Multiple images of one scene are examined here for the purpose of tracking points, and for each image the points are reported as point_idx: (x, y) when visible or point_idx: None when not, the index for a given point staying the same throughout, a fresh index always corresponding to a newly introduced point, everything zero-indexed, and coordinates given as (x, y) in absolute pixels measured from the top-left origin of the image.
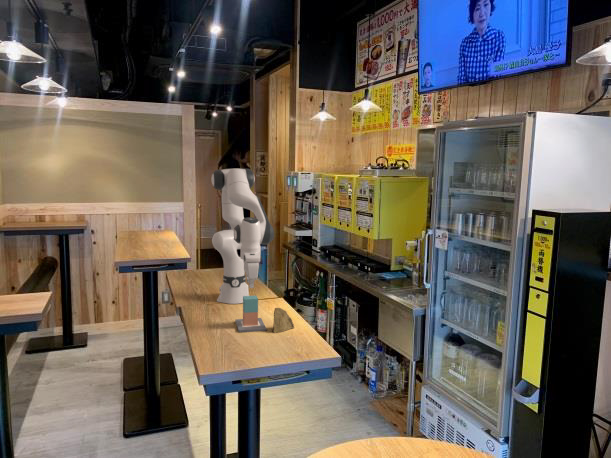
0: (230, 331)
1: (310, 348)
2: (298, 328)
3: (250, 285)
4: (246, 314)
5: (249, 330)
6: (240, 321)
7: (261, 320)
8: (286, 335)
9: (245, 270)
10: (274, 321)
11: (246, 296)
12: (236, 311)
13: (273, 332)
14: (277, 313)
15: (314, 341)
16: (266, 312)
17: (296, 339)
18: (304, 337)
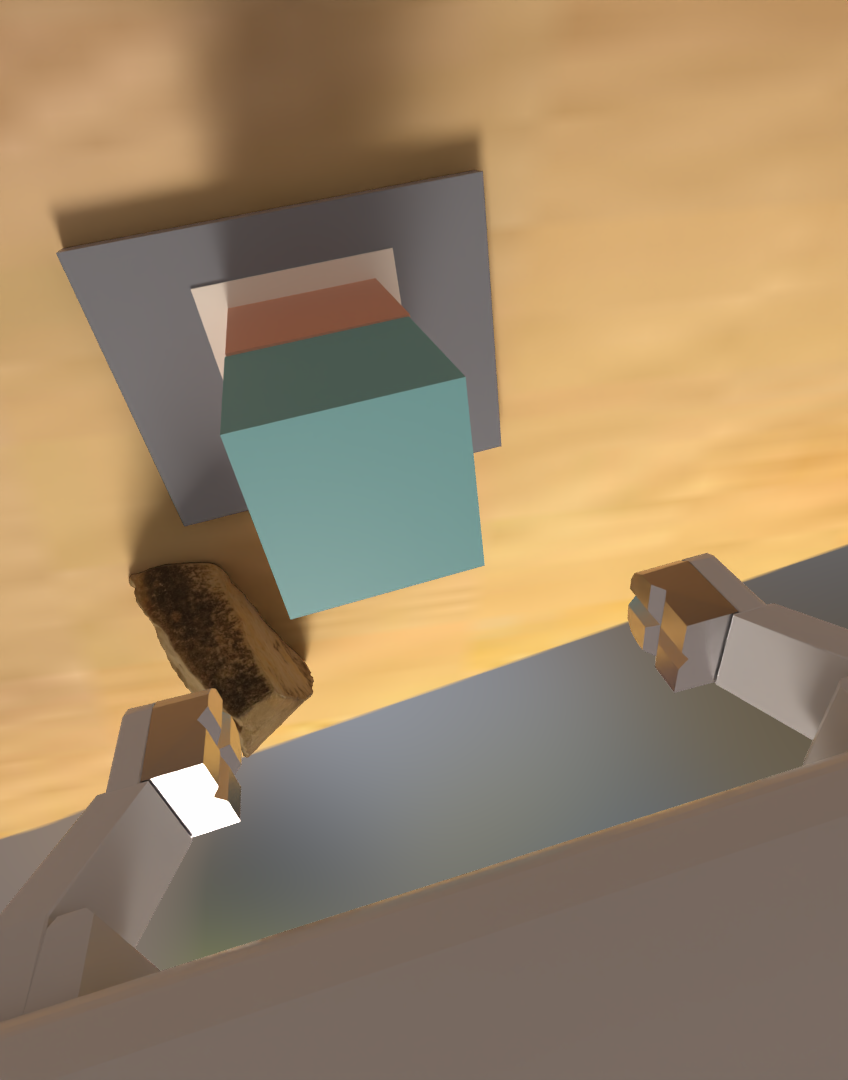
0: (85, 126)
1: None
2: None
3: (123, 770)
4: None
5: (116, 373)
6: (400, 245)
7: None
8: (92, 661)
9: (846, 894)
10: (165, 633)
11: (436, 440)
12: (816, 158)
13: (137, 574)
14: None
15: (8, 809)
16: (683, 458)
17: (14, 726)
18: (77, 756)
